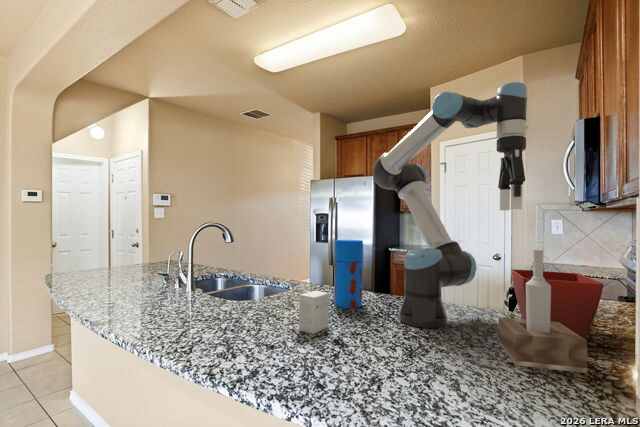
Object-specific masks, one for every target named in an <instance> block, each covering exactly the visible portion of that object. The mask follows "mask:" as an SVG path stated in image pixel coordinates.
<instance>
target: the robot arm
mask: <svg viewBox="0 0 640 427" xmlns="http://www.w3.org/2000/svg"><path fill="white" fill-rule="evenodd" d="M527 89H528V88H527V85H526V84H525V83H523V82H520V81H519V82H517V81H515V82H514V81H513V82H507V83H503V84H502V85H500V86H499V87H498V88H497V93H496V95H495V96H493V97H491V98H486V99H482V100H480V99H477V98H473V97H470V96H466V95H462V94H460V93H457V92H451V91H443V92H440V93H439V94H437V96H435V97H434V101H433V102H432V106H431V111H430V112H429V113H428V114H427V115H426V116H425V117H424V118H423V119H422V120H421V121H419V122H418V123H417V125H416V126H414V127H413V129H411V131H409V132H408V133H407V134H406V135H405V136H404V137H402V139H401V140H400V141H399V142H398V143H397V144H396V145H395V146H394V147H393V148H392V149H390V151H388V152H384V153H383V154H382V155H380V156H379V157H378V158H377V160H376V161H375V163H374V164H373V168H372V178H373V180H374V183H375V184H376V185H377V186H378V187H380V188H382V189H384V190H391V191H395V192H396V193H397V196H398V198H399V199H400V200H402V201H405V203H406V205H407V207H408V209H409V212H410V214H411V215H412V217H413V220H414V222H415V224H416V226H417V229H418V230H419V232H420V235H421V236H422V239H423V241H424V242H425V244H426V247H427V248H416V249H411V250H409V251H407V252H406V253H405V256H404V263H403V264H404V265H403V266H404V296H403V298H402V302H401V305H400V309H399V311H398V320H399V321H400V322H401V323H403V324H405V325H408V326H412V327H417V328H426V329H431V328H432V329H436V328H442V327H446V326H447V325H448V315H447V312H446V309H445V306H444V302H443V300H442V290H443V288H444V287H445V288H447V287H461V286H463V285H466V284H467V285H468V284H469V283H471V282H472V281H473V279H474V278H475V277H476V272H477V268H478V266H477V262H476V260H475V257H474V256H473V255H472V254H471V253H470V252H468V251H465V250H462V248H461V246H460V244H459V243H458V241H455V240H452V239H451V237H450V235H449V233H448V231H447V229H446V227H445V226H444V224H443V222H442V220H441V218H440V216H439V214H438V212H437V211H436V209H435V207H434V205H433V204H432V201H431V199H430V198H429V196H428V194H427V192H426V188H427V181H428V180H427V176H428V175H427V172H426V170H425V169H424V167H422V165H420V164H417V163H414V162H410V161H411V160H413V159H414V158H415V157H416V156H417V155H419V154H420V153H421V152H422V151H423V150H425V149H426V148H427V147H428V146H429V145H430V144H431V143H432V142H434V141H435V140H436V139H438V138H439V136H441V135H442V134H443V133H444V132H445V131H446V130H448V129H449V128H450V127H451V126H453V124H455V123H456V122H460V124H461V125H462V126H463V127H464V128H465V129H474V128H477V129H478V128H480V127H483V126H486V125H487V126H488V125H490V124H494V123H496V138H497V139H496V151H497V153H501V154H503V157H501V158H500V168H499V169H500V170H499V176H498V177H499V178H498V184H497V188H498V189H499V205H498V206H499V211H510V210H523V185H524V182H525V181H526V175H525V168H524V161H523V160H524V159H523V152H524V151H526V149H527V137H526V135H527V130H528V129H529V125H527V108H528V107H527V105H528V104H527V103H528V94H527Z"/></svg>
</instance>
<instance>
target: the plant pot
mask: <svg viewBox="0 0 640 427" xmlns="http://www.w3.org/2000/svg"><path fill="white" fill-rule="evenodd" d="M511 277H512V284H513V288H514V292H515V293H514V294H515V297H516V301H517V305H518V308H519V310H520V311H519V312H520V315H521V319H526V320H527V317H526V283H527V282H528V281H530V280H531V279H532V277H533V270H532V269H516V268H515V269H511ZM543 278H545V281H546V282H547V283H548V284H549V285H551V307H550V321H551V322H559V323H561V324H562V325H564V326H565V327H567V328H568V329H570V330H571V331H573V332H574V333H576V334H578V335H579V336H581V337H582V338H584V339H585V338H586V336H587V334H588V333H589V331H590V329H591V327H592V324H593V322H594V320H595V316H596V315H597V311H598V308H599V306H600V301H601V299H602V298H601V297H602V293H603V291H604V290H603V289H604V283H603V282H602V281H598V280H596V279H594V278H591V277H588V276H587V275H584V274H581V273H576V272H564V271H563V272H560V271H549V270H548V271H546V270H543Z"/></svg>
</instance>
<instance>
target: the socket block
mask: <svg viewBox="0 0 640 427" xmlns="http://www.w3.org/2000/svg"><path fill="white" fill-rule="evenodd" d="M498 344H499V346H500V347H501V348H502V349H503V351H504V352H505V353H506V355H507V356H508V357H509V359H510V360H511V362H513V364H514V365H515V366H519V367H530V368H536V369H537V368H538V369H545V370H546V369H547V370H557V371H565V372H566V371H567V372H574V373H583V374H588V340H587V339H585V338H582V337H581V336H579V335H578V334H576V333H574V332H573V331H571V330H570V329H568V328H567V327H565V326H564V325H562V324H561V323H559V322H551V321H550V333H545V332H534V331H527V320H526V319H523V318H511V317H510V318H509V317H501V316H499V317H498Z"/></svg>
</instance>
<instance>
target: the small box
mask: <svg viewBox="0 0 640 427" xmlns="http://www.w3.org/2000/svg"><path fill="white" fill-rule="evenodd" d="M298 298H299V299H298V300H299V303H298V304H299V305H298V306H299V307H298V308H299V312H298V314H299V315H298V330H299V331H300V332H303V333H308V334H310V335H311V334H312V335H314V334H316V333H319V332H321V331H323V330H325V329H327V328H329V320H330V319H329V318H330V316H329V315H330V311H329V310H330V293H329V292H324V291H319V290H312V291H309V292H305V293H303V294H299V296H298Z"/></svg>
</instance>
